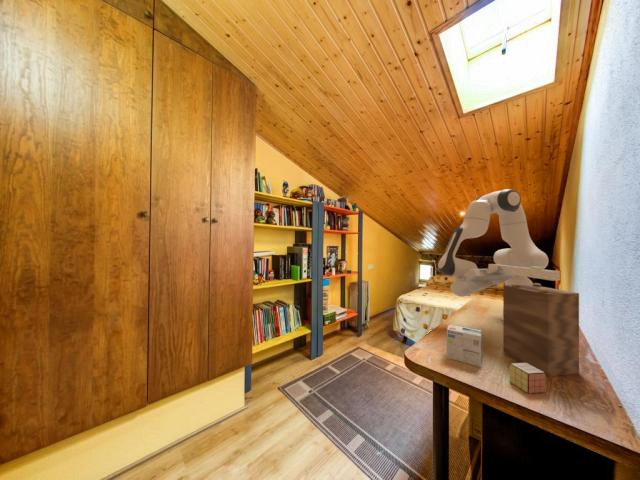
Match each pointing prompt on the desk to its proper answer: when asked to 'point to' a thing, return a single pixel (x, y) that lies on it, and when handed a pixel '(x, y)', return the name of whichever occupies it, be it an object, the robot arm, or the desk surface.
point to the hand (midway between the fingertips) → (502, 267)
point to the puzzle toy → (527, 377)
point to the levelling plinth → (542, 328)
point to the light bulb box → (464, 345)
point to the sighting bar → (528, 272)
